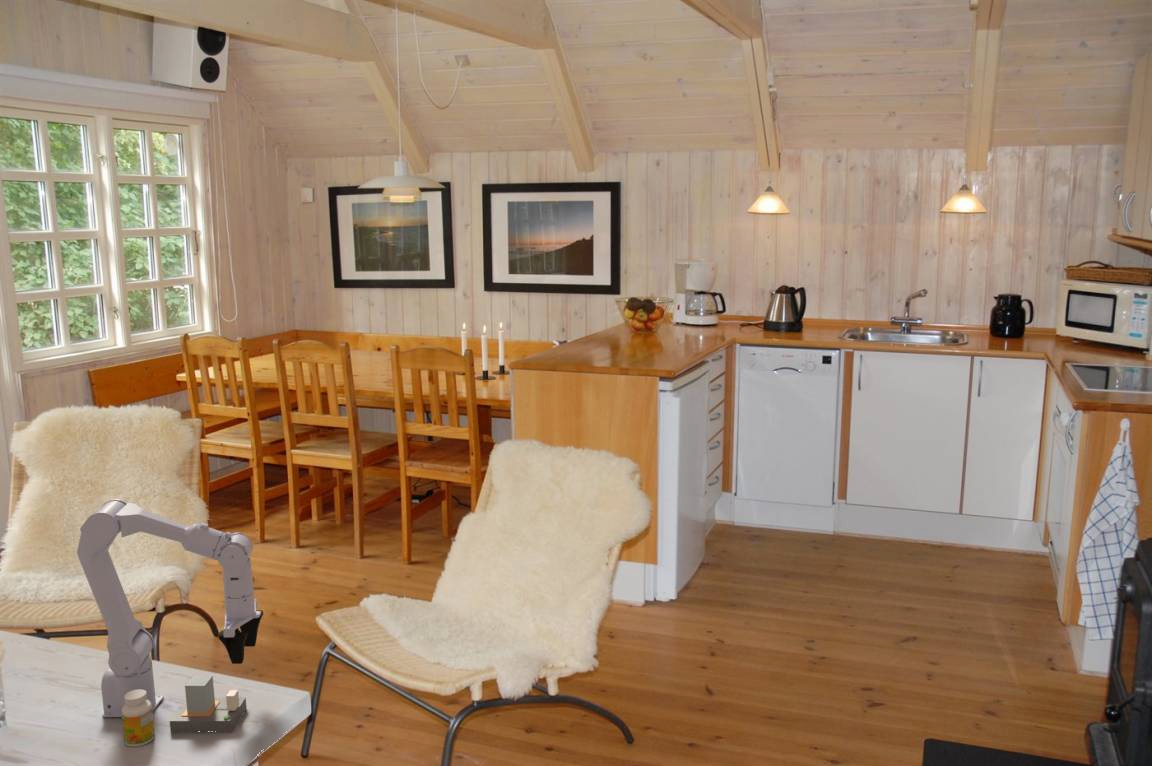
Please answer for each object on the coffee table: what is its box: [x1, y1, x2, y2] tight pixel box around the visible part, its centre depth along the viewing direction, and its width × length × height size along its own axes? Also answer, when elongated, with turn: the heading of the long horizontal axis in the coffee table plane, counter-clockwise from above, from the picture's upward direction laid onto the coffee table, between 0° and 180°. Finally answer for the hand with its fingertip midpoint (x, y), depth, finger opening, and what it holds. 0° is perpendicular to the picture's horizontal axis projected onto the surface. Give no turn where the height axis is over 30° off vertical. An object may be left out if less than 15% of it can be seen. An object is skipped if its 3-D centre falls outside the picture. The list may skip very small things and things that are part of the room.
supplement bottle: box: [121, 689, 156, 748], centre depth 186 cm, size 5×5×10 cm
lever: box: [225, 689, 240, 711], centre depth 193 cm, size 2×2×3 cm
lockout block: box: [184, 675, 216, 713], centre depth 193 cm, size 4×4×6 cm
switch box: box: [169, 697, 247, 733], centre depth 194 cm, size 12×9×3 cm
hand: (243, 654), depth 200 cm, fingers open, 7 cm apart
